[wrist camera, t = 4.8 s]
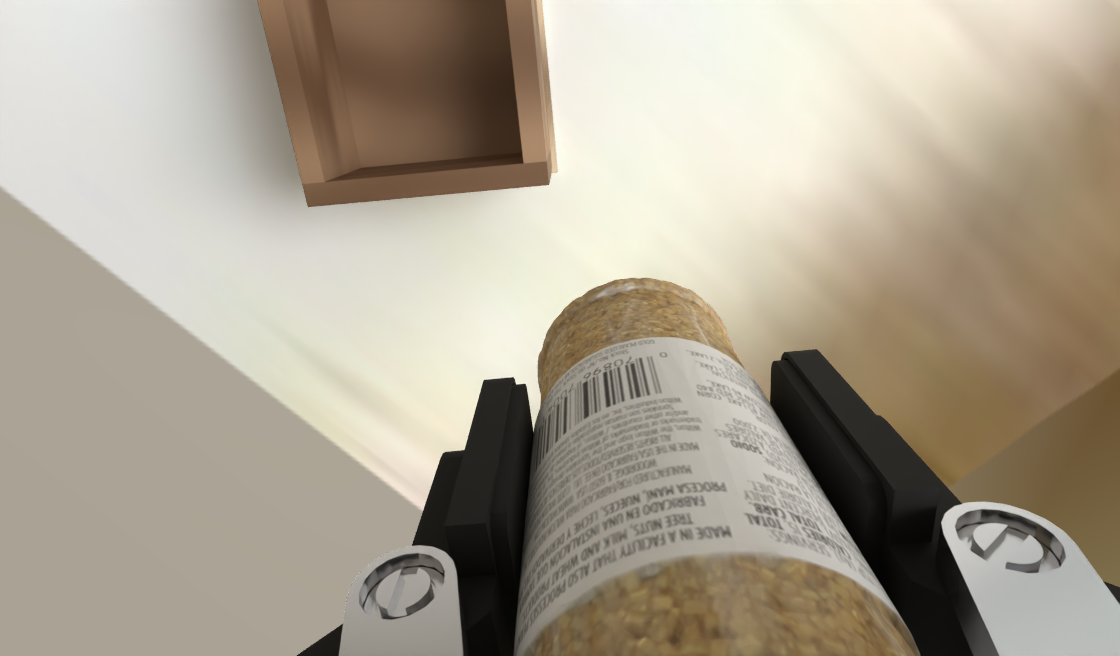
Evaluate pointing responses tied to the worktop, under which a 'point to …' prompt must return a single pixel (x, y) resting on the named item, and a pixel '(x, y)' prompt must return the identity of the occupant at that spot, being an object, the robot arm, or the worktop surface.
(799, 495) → the sprinkles bottle
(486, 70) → the open wooden box
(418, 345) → the worktop surface
